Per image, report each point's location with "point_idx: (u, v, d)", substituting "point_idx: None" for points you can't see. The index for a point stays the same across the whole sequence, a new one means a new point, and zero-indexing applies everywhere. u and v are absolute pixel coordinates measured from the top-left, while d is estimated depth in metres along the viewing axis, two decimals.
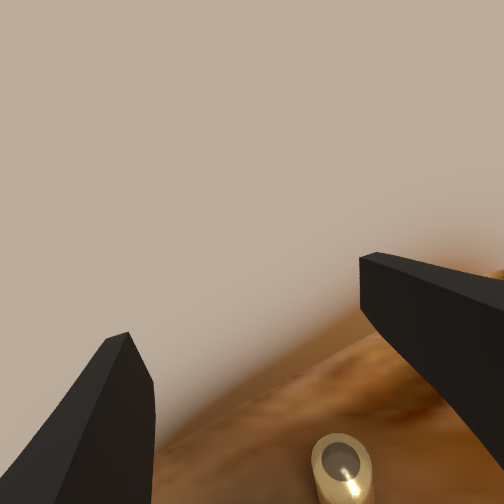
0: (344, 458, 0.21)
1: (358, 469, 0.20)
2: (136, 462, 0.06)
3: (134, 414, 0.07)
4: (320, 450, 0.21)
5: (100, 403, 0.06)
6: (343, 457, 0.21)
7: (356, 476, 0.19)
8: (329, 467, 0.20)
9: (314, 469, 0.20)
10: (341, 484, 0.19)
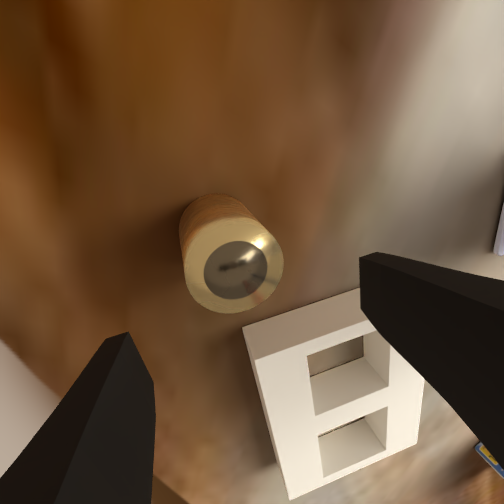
0: (232, 263, 0.12)
1: (255, 247, 0.12)
2: (136, 462, 0.06)
3: (134, 414, 0.07)
4: (214, 299, 0.12)
5: (100, 403, 0.06)
6: (231, 265, 0.12)
7: (264, 252, 0.12)
8: (241, 288, 0.12)
9: (241, 309, 0.13)
10: (269, 276, 0.12)
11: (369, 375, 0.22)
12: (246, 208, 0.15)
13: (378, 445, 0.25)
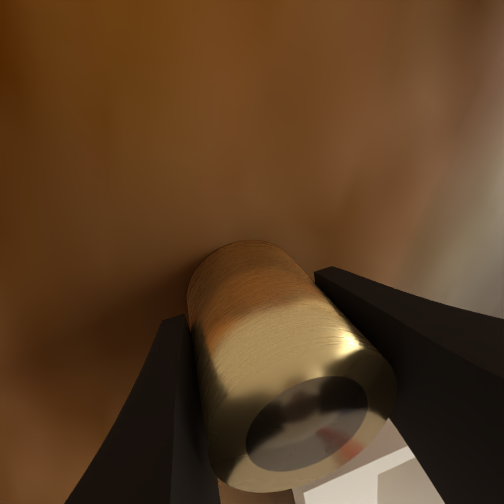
0: (302, 413, 0.06)
1: (350, 382, 0.06)
2: None
3: (198, 391, 0.07)
4: (262, 476, 0.06)
5: (179, 375, 0.06)
6: (300, 419, 0.06)
7: (364, 389, 0.06)
8: (312, 448, 0.06)
9: (309, 479, 0.07)
10: (367, 423, 0.06)
11: None
12: None
13: None
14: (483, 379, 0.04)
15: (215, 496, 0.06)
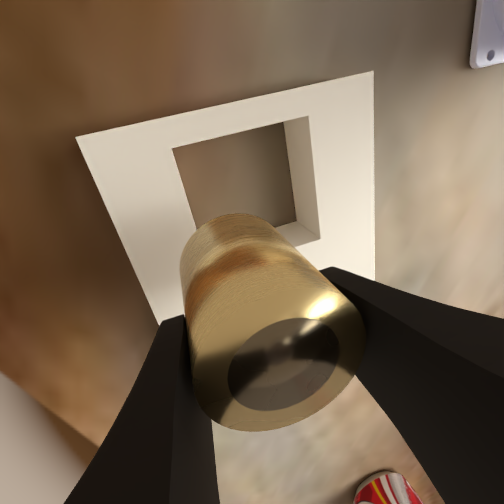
0: (277, 355, 0.06)
1: (315, 322, 0.06)
2: (204, 435, 0.07)
3: None
4: (253, 416, 0.07)
5: (178, 375, 0.06)
6: (275, 360, 0.06)
7: (331, 328, 0.06)
8: (296, 388, 0.07)
9: (300, 417, 0.07)
10: (343, 360, 0.07)
11: (298, 233, 0.16)
12: (277, 231, 0.10)
13: None
14: (483, 379, 0.04)
15: (214, 496, 0.06)
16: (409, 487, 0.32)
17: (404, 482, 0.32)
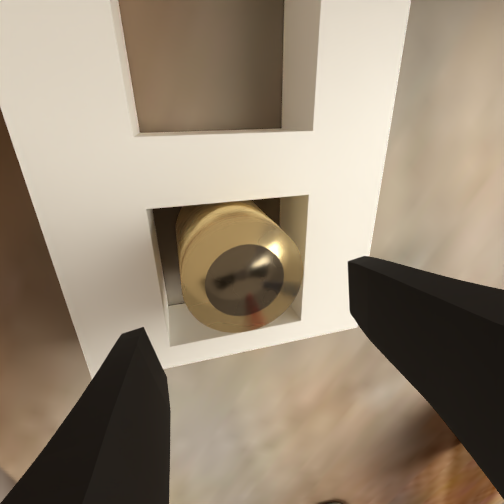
0: (239, 273, 0.09)
1: (263, 249, 0.09)
2: (155, 455, 0.06)
3: (151, 408, 0.07)
4: (224, 318, 0.10)
5: (122, 395, 0.06)
6: (238, 276, 0.09)
7: (276, 254, 0.09)
8: (255, 300, 0.10)
9: (260, 324, 0.10)
10: (288, 280, 0.10)
11: (281, 130, 0.11)
12: None
13: (289, 315, 0.14)
14: None
15: None
16: None
17: None
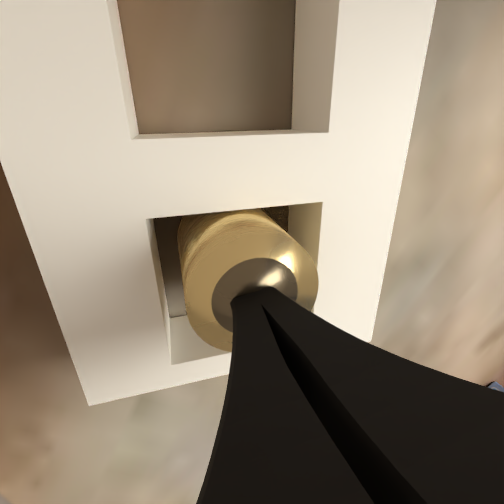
0: (248, 289, 0.08)
1: (276, 262, 0.08)
2: None
3: None
4: (232, 338, 0.09)
5: None
6: (247, 292, 0.08)
7: (289, 267, 0.08)
8: None
9: None
10: (301, 295, 0.09)
11: (293, 131, 0.10)
12: None
13: None
14: (358, 432, 0.04)
15: None
16: None
17: None
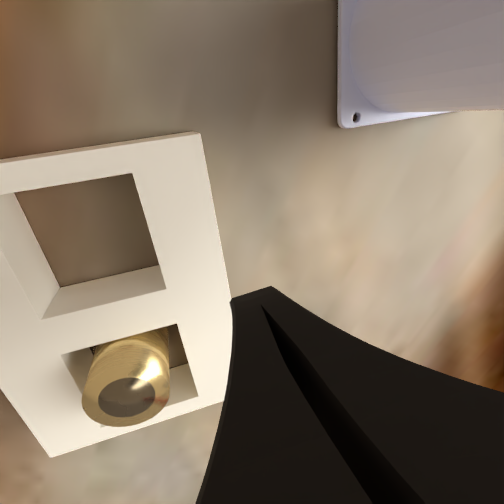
0: (121, 393, 0.14)
1: (133, 378, 0.14)
2: None
3: None
4: (119, 419, 0.15)
5: None
6: (120, 396, 0.14)
7: (143, 379, 0.14)
8: (139, 405, 0.15)
9: (148, 418, 0.15)
10: (158, 391, 0.15)
11: (154, 279, 0.16)
12: None
13: (192, 391, 0.19)
14: (358, 432, 0.04)
15: None
16: None
17: None
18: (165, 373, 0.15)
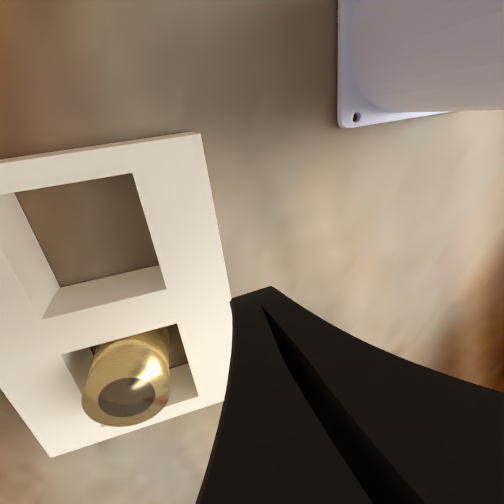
0: (121, 393, 0.14)
1: (133, 378, 0.14)
2: None
3: None
4: (119, 419, 0.15)
5: None
6: (120, 395, 0.14)
7: (143, 379, 0.14)
8: (139, 405, 0.15)
9: (148, 418, 0.15)
10: (158, 391, 0.15)
11: (154, 279, 0.16)
12: None
13: (192, 391, 0.19)
14: (358, 432, 0.04)
15: None
16: None
17: None
18: (165, 373, 0.15)
